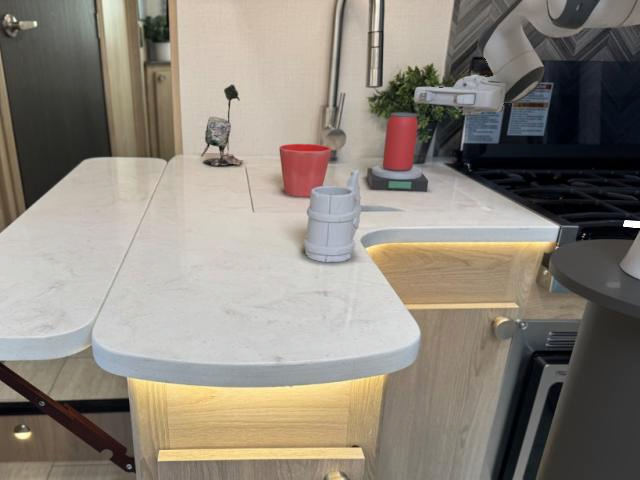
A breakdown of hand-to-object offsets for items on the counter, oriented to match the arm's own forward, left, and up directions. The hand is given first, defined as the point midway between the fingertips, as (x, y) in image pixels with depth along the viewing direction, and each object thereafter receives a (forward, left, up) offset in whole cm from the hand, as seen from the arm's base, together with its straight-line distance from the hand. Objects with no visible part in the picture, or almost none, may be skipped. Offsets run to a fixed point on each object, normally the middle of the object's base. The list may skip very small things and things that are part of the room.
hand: (437, 98), depth 128 cm
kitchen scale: (+8, +9, -18) cm, 22 cm away
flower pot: (+29, +20, -18) cm, 40 cm away
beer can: (+8, +9, -15) cm, 19 cm away
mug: (+23, +57, -18) cm, 64 cm away
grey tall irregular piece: (+51, -9, -18) cm, 55 cm away
